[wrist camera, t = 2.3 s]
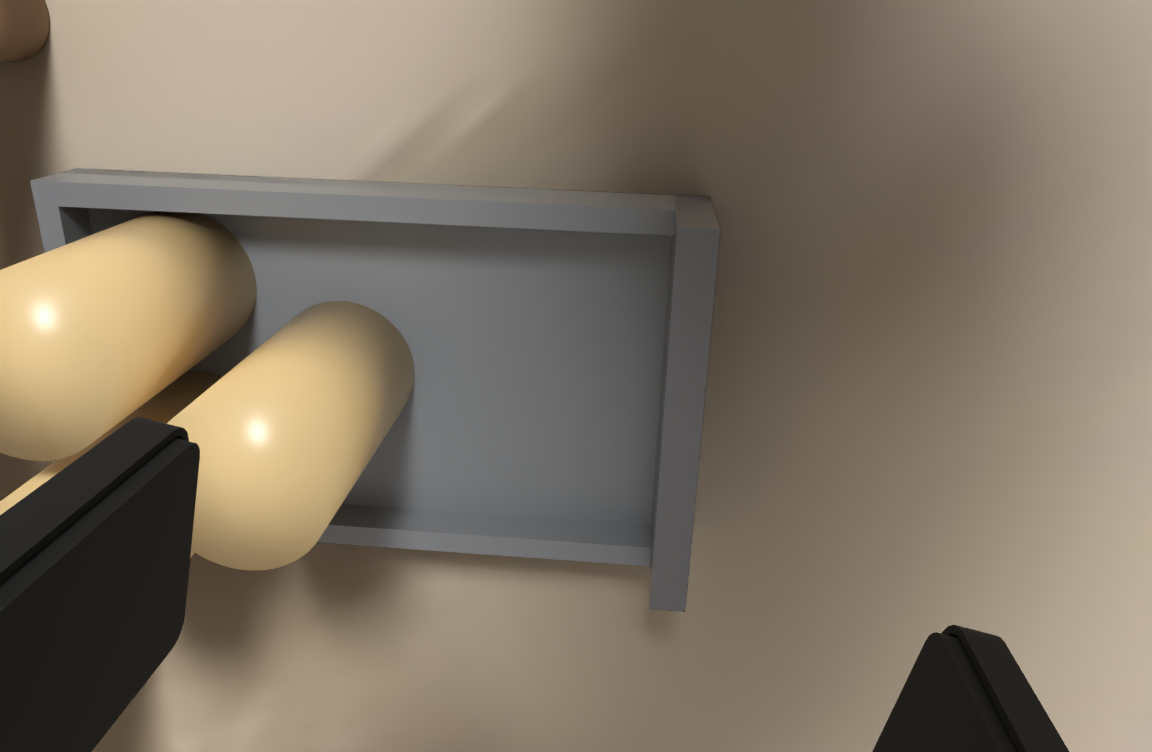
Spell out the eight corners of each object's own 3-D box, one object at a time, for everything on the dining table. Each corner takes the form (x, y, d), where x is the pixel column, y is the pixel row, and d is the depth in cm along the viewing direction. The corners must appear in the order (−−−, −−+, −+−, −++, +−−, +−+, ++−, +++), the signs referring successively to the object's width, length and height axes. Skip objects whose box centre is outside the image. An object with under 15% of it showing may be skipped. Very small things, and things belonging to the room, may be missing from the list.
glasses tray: (709, 196, 29) (735, 278, 20) (681, 531, 34) (690, 721, 25) (76, 168, 31) (-171, 232, 22) (135, 494, 36) (-46, 659, 26)
